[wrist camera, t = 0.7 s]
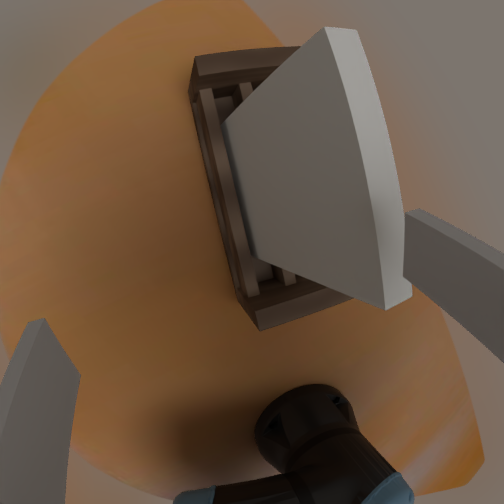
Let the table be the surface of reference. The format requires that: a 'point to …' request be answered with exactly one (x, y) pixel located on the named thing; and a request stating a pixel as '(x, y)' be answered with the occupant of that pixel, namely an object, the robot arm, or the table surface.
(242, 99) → the rack
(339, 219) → the sheet
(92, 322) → the table surface
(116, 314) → the table surface
